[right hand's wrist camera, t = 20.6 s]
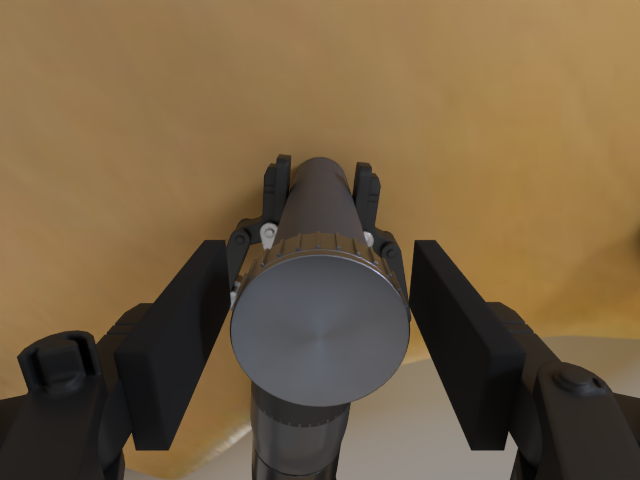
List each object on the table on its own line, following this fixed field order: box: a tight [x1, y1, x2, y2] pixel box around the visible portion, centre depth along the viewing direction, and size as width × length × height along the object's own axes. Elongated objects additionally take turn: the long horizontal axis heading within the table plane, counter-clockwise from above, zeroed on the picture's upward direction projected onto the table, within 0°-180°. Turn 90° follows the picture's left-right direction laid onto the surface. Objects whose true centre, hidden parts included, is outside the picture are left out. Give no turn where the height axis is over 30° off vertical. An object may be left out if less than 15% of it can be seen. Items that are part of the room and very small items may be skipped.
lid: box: [230, 231, 410, 407], centre depth 11 cm, size 5×5×2 cm
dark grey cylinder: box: [271, 157, 369, 248], centre depth 20 cm, size 4×4×19 cm
